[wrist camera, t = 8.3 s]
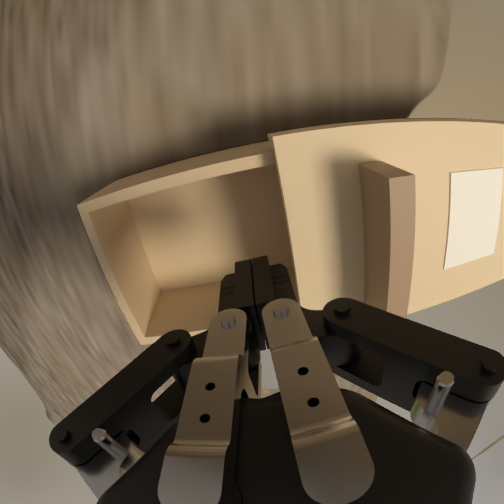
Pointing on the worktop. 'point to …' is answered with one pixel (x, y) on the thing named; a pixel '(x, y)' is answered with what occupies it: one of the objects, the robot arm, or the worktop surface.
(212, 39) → the worktop surface
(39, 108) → the worktop surface
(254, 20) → the worktop surface
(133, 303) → the box
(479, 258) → the lid
